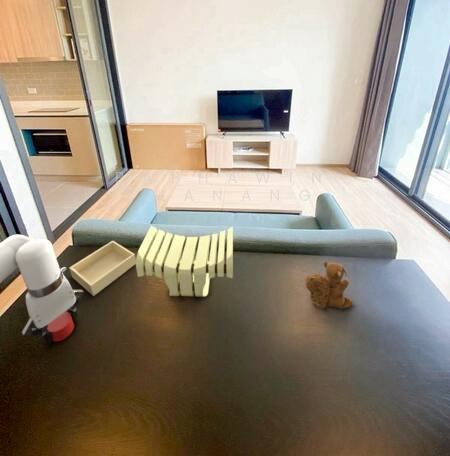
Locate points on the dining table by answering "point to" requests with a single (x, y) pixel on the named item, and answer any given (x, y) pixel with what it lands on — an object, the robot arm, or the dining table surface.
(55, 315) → the robot arm
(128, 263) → the bin
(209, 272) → the slatted curved stool
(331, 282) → the stuffed squirrel
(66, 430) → the dining table surface
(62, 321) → the disc
